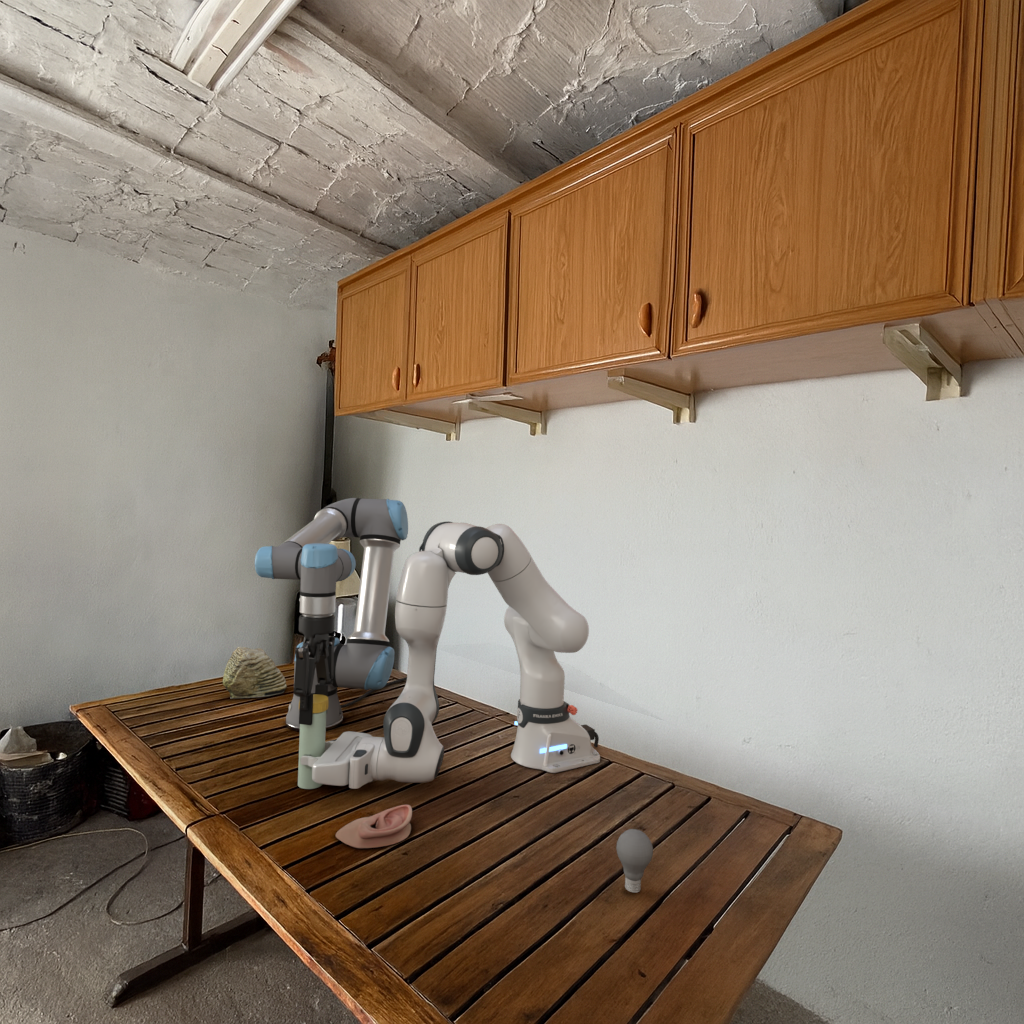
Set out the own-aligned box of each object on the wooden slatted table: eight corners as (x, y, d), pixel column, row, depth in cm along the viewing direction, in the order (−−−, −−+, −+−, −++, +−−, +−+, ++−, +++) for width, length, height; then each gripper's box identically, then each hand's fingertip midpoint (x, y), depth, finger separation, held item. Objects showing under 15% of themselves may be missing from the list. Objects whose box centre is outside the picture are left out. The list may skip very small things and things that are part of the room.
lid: (324, 703, 144) (324, 692, 144) (331, 711, 138) (331, 701, 138) (296, 706, 140) (296, 696, 140) (302, 715, 135) (302, 704, 135)
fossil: (218, 695, 195) (220, 647, 195) (278, 685, 208) (279, 640, 207) (228, 703, 189) (230, 653, 188) (289, 692, 201) (290, 645, 201)
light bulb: (610, 879, 108) (613, 822, 108) (644, 879, 109) (647, 822, 109) (619, 902, 102) (622, 840, 102) (655, 901, 103) (658, 840, 103)
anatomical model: (328, 822, 116) (356, 794, 127) (327, 843, 116) (355, 813, 127) (396, 832, 113) (418, 803, 124) (395, 855, 113) (418, 823, 124)
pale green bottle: (320, 776, 143) (323, 695, 143) (326, 786, 139) (329, 702, 138) (295, 780, 141) (298, 698, 140) (300, 791, 136) (303, 705, 136)
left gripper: (322, 606, 149) (318, 703, 149) (277, 620, 130) (273, 732, 131) (352, 608, 148) (348, 707, 148) (311, 623, 129) (307, 736, 129)
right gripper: (383, 726, 149) (325, 722, 150) (355, 762, 128) (289, 757, 129) (382, 753, 149) (324, 748, 150) (353, 793, 129) (287, 787, 130)
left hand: (313, 718), depth 139 cm, fingers closed on lid, 6 cm apart
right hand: (307, 753), depth 140 cm, fingers closed on pale green bottle, 5 cm apart
